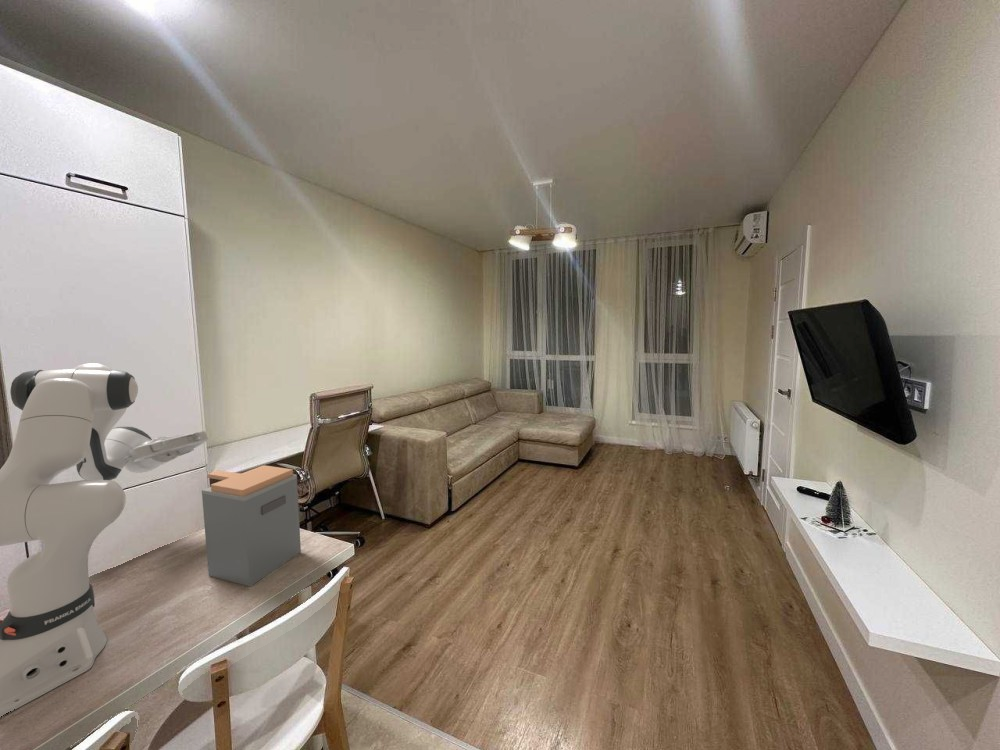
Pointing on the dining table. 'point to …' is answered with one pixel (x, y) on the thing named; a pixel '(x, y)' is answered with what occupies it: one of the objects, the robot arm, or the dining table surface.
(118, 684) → the dining table surface
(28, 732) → the dining table surface
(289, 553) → the crate
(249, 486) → the lid
